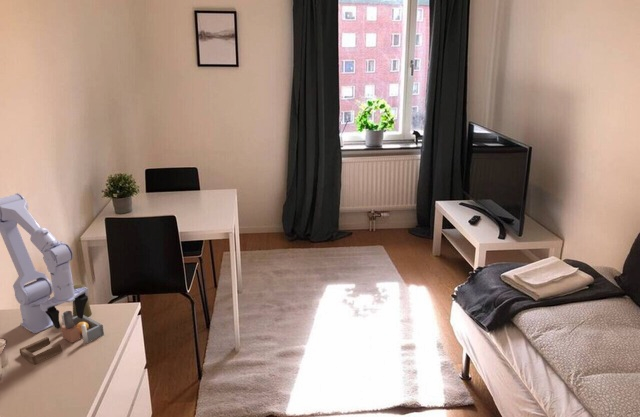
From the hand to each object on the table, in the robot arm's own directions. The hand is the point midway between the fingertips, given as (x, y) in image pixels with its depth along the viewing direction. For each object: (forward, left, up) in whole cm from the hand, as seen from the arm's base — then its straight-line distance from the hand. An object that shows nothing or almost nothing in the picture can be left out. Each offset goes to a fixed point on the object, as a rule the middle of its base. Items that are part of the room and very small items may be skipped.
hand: (69, 322), depth 171 cm
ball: (0, +4, -4) cm, 6 cm away
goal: (0, +4, -6) cm, 7 cm away
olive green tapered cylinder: (-11, +10, -6) cm, 16 cm away
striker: (0, 0, -6) cm, 6 cm away
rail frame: (0, -10, -6) cm, 11 cm away
